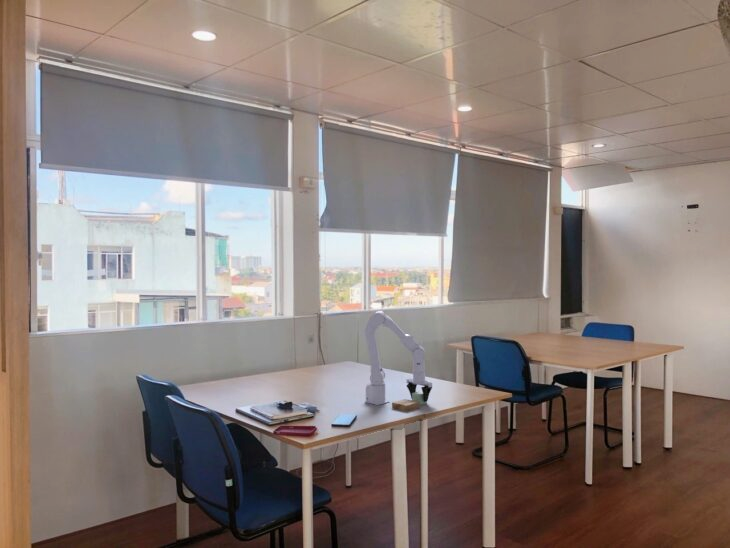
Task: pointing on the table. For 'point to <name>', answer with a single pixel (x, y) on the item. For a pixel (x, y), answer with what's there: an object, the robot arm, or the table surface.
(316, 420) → the table surface
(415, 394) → the green cube
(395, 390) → the table surface
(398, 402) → the walnut block
